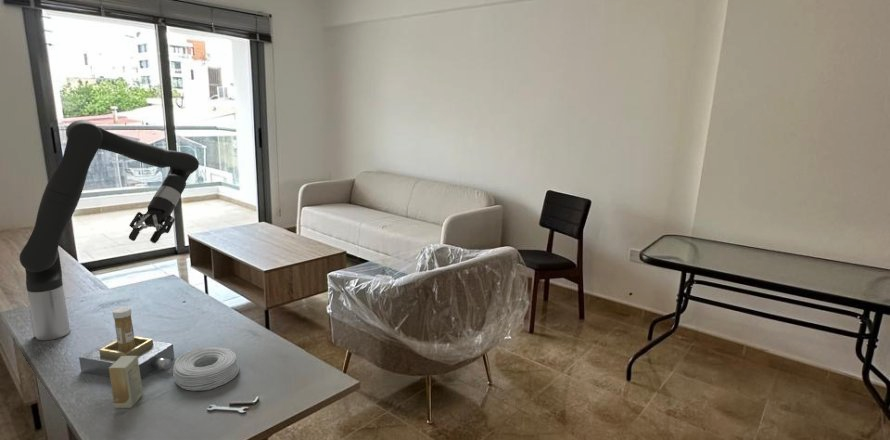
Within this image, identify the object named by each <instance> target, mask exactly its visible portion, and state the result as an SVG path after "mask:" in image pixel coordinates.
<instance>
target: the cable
mask: <svg viewBox="0 0 890 440" xmlns="http://www.w3.org/2000/svg"><path fill="white" fill-rule="evenodd" d="M171 372H172V374H173V379H174V382H175V383H176V385H178V386H179V387H180V388H181V389H183V390H187V391H209V390H212V389H215V388H218V387H221V386H223V385H225V384H226V383H229V382H230V381H232V380H233V379H234V378H236V377H237V375H238V374H239V372H240V364H239V362H238V359H237V355H236V354H235V352H234V351H232V350H231V349H228V348H224V347H217V346H216V347H215V346H214V347H213V346H210V347H200V348H199V347H198V348H194V349H191V350H189V351H185V352H184V353H182V354H181V355H179V356H178V357H177V359H176V360H175V362H174V364H173V368H172V370H171Z"/></svg>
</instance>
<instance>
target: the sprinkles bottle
mask: <svg viewBox="0 0 890 440" xmlns="http://www.w3.org/2000/svg"><path fill="white" fill-rule="evenodd" d="M112 318H113V319H114V325H115V326H114V328H115V334H116V337H117V342H118V346H119V351H120V352H126V353H127V352H128V351H130V350H132V349H134V348H135V347H136V345H135V340H134V336H135V332H134V326H133V321H132V308H131V307H129V306H121V307H116V308H115V309H113V310H112Z"/></svg>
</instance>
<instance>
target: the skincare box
mask: <svg viewBox="0 0 890 440" xmlns="http://www.w3.org/2000/svg"><path fill="white" fill-rule="evenodd" d="M109 373H110V377H109V378H110V384H111V385H110V386H111V391H112V397H113V403H114V409H127V408H128V409H129V408H130V409H131V408H132V407H134V405H135V404H136V403H137V402H138V401H139V400H140V399H141V397H142V396H143V394H144V392H143V384H142V380H141V377H140V370H139V363H138V356H121V357H120V358H119V359H118V360H116V361H115V362H114V363H113V364H112V365H111V366H110V367H109Z"/></svg>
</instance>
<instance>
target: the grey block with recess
mask: <svg viewBox="0 0 890 440" xmlns="http://www.w3.org/2000/svg"><path fill="white" fill-rule="evenodd" d="M134 340H135V345H136V347H135V348H134V349H132V350H130V351H128V352H127V353H126V352H120V351H119V346H118V342H117V336H116V337H115V338H113V339H110V340H108V341H107V342H105V343H103V344H101V345H99V346H97V347H95V348H94V349H91V350H90V351H87V352H85V353H84V354H82V355H79V357H78V360H79V366H80V373H85V374H90V375H95V376H100V377H106V378H110V373H109V367H110V366H111V365H112V364H113V363H114V362H115V361H116V360H118V359H119V358H120V357H121V356H138V363H139V370H140V377H141V381H142V380H144V379H146V378H148V377H149V376H150V375H151V374H153V373H154V372H156V371H158V370H159V369H160V370H169V368H170V367H171V366H172V361H173V360H174V359H175V351H174V344H173V343H168V342H163V341H155V340H154V339H153V338H147V337H141V336H135V335H134Z"/></svg>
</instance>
